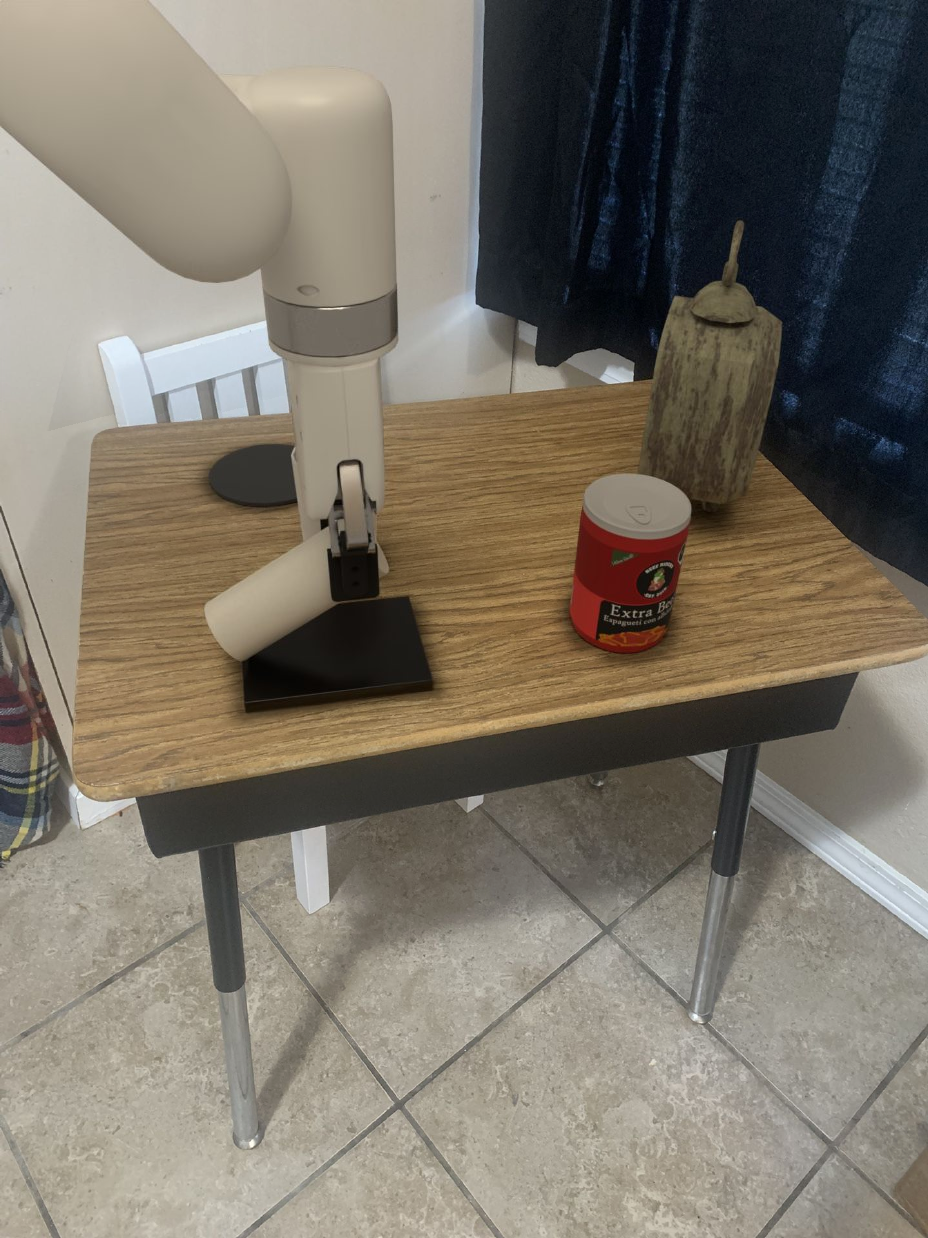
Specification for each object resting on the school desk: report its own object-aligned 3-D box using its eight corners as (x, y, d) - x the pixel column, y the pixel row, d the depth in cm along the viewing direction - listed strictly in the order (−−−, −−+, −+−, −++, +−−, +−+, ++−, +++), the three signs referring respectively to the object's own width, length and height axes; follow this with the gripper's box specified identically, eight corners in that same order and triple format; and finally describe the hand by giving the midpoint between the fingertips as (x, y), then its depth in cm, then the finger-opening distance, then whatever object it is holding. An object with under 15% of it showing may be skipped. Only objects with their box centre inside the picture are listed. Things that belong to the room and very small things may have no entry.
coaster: (210, 511, 86) (209, 507, 86) (208, 452, 95) (208, 448, 95) (334, 501, 88) (334, 497, 88) (322, 443, 97) (322, 439, 97)
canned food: (598, 665, 72) (617, 539, 65) (550, 603, 77) (563, 481, 71) (688, 642, 74) (715, 519, 67) (635, 584, 80) (655, 464, 73)
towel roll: (248, 674, 68) (203, 632, 65) (245, 631, 72) (203, 589, 69) (394, 585, 66) (355, 538, 63) (383, 546, 70) (346, 499, 67)
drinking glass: (300, 586, 78) (290, 476, 72) (300, 540, 83) (291, 434, 77) (384, 582, 79) (381, 473, 73) (379, 536, 84) (376, 431, 78)
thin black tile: (245, 713, 67) (243, 703, 66) (240, 623, 74) (238, 613, 74) (433, 690, 69) (433, 679, 68) (409, 605, 77) (409, 595, 76)
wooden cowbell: (648, 462, 96) (693, 193, 80) (743, 478, 94) (807, 205, 78) (626, 540, 85) (673, 246, 69) (732, 559, 83) (805, 261, 67)
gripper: (258, 268, 62) (286, 513, 73) (275, 384, 49) (306, 659, 60) (376, 262, 63) (386, 503, 75) (423, 373, 50) (426, 644, 62)
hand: (350, 570), depth 67 cm, fingers closed on towel roll, 4 cm apart
